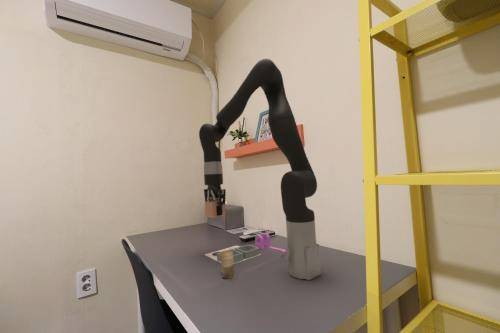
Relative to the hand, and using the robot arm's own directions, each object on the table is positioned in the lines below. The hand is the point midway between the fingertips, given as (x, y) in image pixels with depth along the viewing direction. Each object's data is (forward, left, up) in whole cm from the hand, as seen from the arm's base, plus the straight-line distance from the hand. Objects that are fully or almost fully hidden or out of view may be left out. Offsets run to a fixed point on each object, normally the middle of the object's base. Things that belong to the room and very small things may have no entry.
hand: (215, 214), depth 94 cm
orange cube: (0, 0, -1) cm, 1 cm away
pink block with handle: (-11, -19, -18) cm, 29 cm away
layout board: (-5, -4, -17) cm, 19 cm away
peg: (-18, +7, -17) cm, 26 cm away
